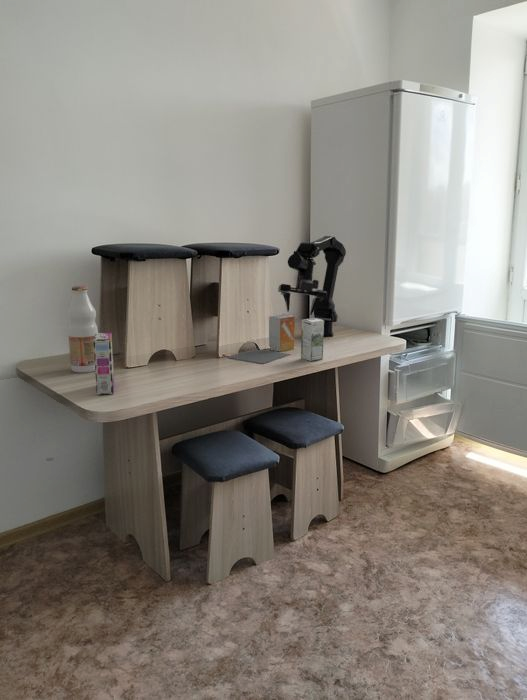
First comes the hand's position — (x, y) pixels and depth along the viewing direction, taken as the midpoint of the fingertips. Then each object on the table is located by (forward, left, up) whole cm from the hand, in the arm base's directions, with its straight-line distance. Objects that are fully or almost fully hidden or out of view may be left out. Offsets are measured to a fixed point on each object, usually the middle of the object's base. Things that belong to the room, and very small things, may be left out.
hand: (299, 313), depth 224 cm
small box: (+7, -6, -13) cm, 16 cm away
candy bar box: (+68, -50, -13) cm, 86 cm away
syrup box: (+21, +7, -13) cm, 26 cm away
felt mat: (+20, -12, -13) cm, 27 cm away
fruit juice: (+47, -67, -13) cm, 83 cm away
